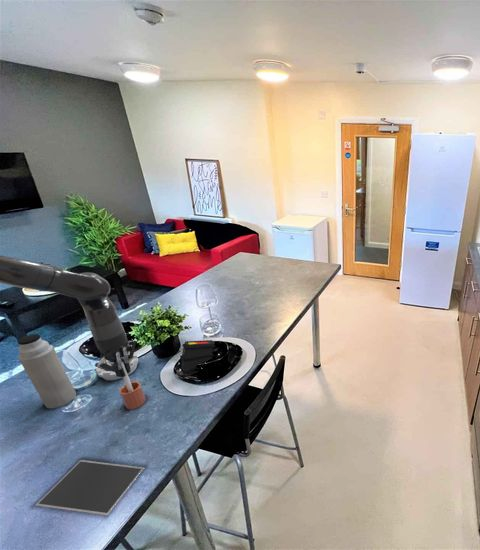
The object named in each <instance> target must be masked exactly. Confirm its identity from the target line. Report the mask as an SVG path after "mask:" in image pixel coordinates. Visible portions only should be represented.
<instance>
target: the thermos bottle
mask: <svg viewBox="0 0 480 550" xmlns="http://www.w3.org/2000/svg"><path fill="white" fill-rule="evenodd" d="M17 344H18V345H19V347H20V348H18V349H17V350H18V351H17V352H18V356H17V358H18V359H17V360H18V361H19V363H20V364H21V366H22V368H23V369H24V371H25V373H26V374H27V376H28V378H29V380H30V382H31V383H32V385H33V387H34V389H35V391H36V392H37V394H38V395H39V397H40V399H41V401H42V403H43V405H44V406H45V408H46V409H51V410H52V409H57V408H61V407H62V406H65V405H67V404H68V403H71V401H73V400H74V399H75V398H76V396H77V392H76V389H75V388H74V385H73V384H72V382H71V380H70V378H69V375H68V374H67V372H66V370H65V368H64V366H63V363H62V362H61V360H60V358H59V355H58V354H57V352H56V350H55V347H54V346H53V345H52V344H50V343H49V342H48V341H47V340H43V339H42V337H41V335H40V334H39V333H32V334H28V335H26V336H23V337H21V338H19V339H18V340H17Z"/></svg>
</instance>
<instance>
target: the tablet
mask: <svg viewBox="0 0 480 550" xmlns="http://www.w3.org/2000/svg"><path fill="white" fill-rule="evenodd" d="M144 470H145V467H144V466H134V465H126V464H117V463H110V462H101V461H92V460H86V459H85V460H84V459H80V460H79V461H78V462H77V463H76V464H75V465H74V466H73V467H72V468H71V469H70V470H69V471H68V472H67V473H66V474H65V475H63V477H62V478H61V479H60V480H59V481H57V483H56V484H55V485H54V486H53V487H52V488H51V489H50V490H49V491H48V492H47V493H46V494H45V495H44V496H43V497H42V498H40V500H38V501H37V503H36V504H34V506H35V507H41V508H48V509H56V510H63V511H71V512H79V513H85V514H92V515H99V516H100V515H101V516H108V515H109V514H110V513H111V511H112V510H113V509H114V507H116V505H117V504H118V502H119V501H120V500H121V499H122V498H123V496H124V495H125V493H126V492H127V491H128V490H129V488H130V487H131V486H132V484H133V483H134V482H135V481H136V479H137V478H138V477H139V476H140V474H141V473H142V472H143V471H144Z"/></svg>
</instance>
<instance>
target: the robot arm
mask: <svg viewBox="0 0 480 550" xmlns="http://www.w3.org/2000/svg"><path fill="white" fill-rule="evenodd" d="M0 284H2V285H6V286H11V287H15V288H21V289H26V290H27V289H28V290H34V291H39V292H48V293H54V294H59V295H62V296H66V297H70V298H74V299H77V300H78V302H79V304H80V306H81V307H82V309H83V311H84V315H85V318H86V320H87V323H88V325H89V330H90V333H91V335H92V338H93V341H94V343H95V346H96V348H97V350H98V351H99V352H100V358H101V359H100V360H99V362H96V363H95V364H94V367H96V368H100V369H103V370H106V371H112V372H115V373H116V376H117V377H125V376H126V374H125V372H124V369H123V368H122V365H121V362H123V363H124V366H125V369H126V371H127V373H129V372H130V370H131V368H130V365H129V360H130V359H132V358H133V354H134V353H135V349H136V345H137V342H136V340H128V337H127V334H126V331H125V328H124V325H123V323H122V321H121V319H120V317H119V314H118V312H117V311H118V310H117V308H116V306H115V304H114V302H112V301H111V299H110V298H109V294H110V293H111V285H110V282H109V281H107V280H106V279H105V278H103V277H102V276H100V275H99V274H97V273H95V272H90V271H87V272H81V273H76V272H71V271H69V270H67V269H65V268H62V267H59V266H55V265H50V264H46V263H42V262H41V263H40V262H36V261H31V260H26V259H22V258H16V257H12V256H11V257H10V256H5V255H0ZM129 351H130V354H129V355H128V353H129ZM106 360H108V362H109V364H111V366H110V365H108V363H107V361H106Z"/></svg>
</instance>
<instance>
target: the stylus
mask: <svg viewBox="0 0 480 550" xmlns="http://www.w3.org/2000/svg"><path fill="white" fill-rule="evenodd" d="M121 365H122V368H123V369H124V372H125V374H126V376H125V377H123V378H122V380H123V381H124V385H126V387H127V389H128V392H132V391H133V388H132V385H131V382H132V381H131V379H130V377H129V375H128V374H127V371H126V369H125V366H124V363H123V362H121Z"/></svg>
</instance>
